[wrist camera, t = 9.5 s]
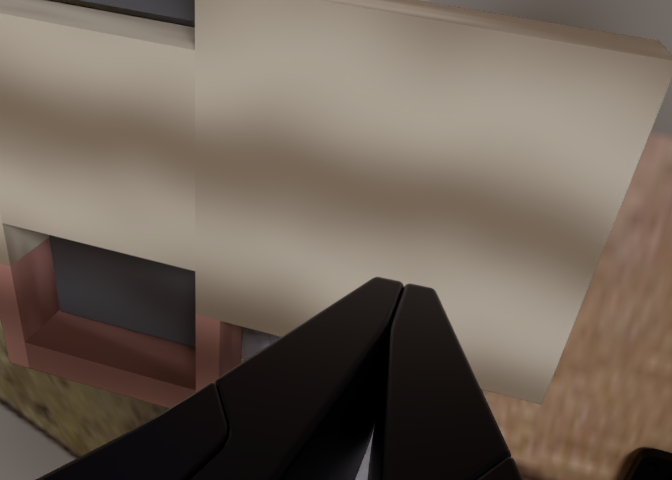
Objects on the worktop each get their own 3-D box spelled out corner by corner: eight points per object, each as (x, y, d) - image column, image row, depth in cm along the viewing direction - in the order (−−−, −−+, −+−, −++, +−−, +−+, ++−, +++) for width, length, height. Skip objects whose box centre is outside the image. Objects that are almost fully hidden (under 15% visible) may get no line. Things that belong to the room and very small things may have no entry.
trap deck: (503, 455, 27) (499, 602, 21) (-156, 273, 32) (-296, 354, 26) (747, -194, 15) (881, -240, 9) (-365, -316, 20) (-699, -392, 15)
